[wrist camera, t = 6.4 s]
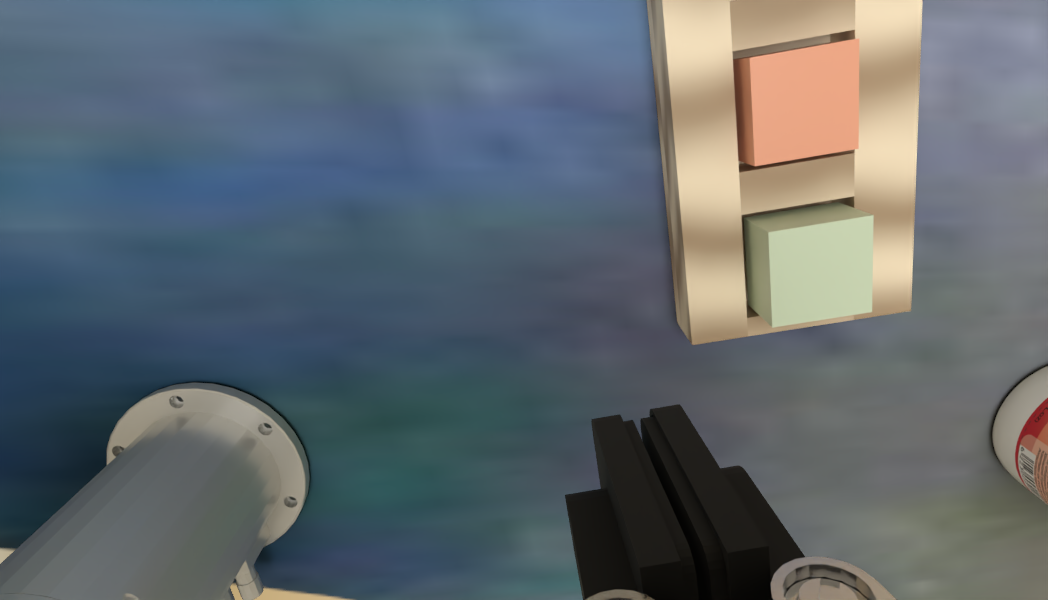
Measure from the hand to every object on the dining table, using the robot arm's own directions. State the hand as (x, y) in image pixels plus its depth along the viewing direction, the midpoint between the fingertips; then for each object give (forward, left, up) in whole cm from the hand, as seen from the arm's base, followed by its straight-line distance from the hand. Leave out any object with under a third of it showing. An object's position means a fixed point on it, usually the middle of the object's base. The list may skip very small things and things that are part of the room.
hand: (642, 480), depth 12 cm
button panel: (+4, -12, -26) cm, 29 cm away
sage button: (-4, -12, -23) cm, 26 cm away
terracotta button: (+4, -12, -24) cm, 27 cm away
